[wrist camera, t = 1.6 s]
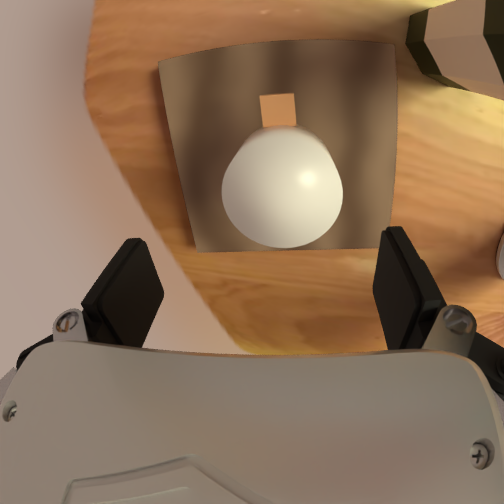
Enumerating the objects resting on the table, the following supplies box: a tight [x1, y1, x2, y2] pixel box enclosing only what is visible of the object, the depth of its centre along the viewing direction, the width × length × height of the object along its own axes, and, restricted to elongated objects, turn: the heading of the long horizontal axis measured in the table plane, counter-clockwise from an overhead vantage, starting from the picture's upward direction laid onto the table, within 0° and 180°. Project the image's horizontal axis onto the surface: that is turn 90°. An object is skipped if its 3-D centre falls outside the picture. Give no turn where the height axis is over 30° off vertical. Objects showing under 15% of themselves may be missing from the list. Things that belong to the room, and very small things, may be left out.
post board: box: [158, 39, 398, 253], centre depth 23 cm, size 20×20×6 cm
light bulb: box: [222, 93, 343, 248], centre depth 18 cm, size 7×9×5 cm
